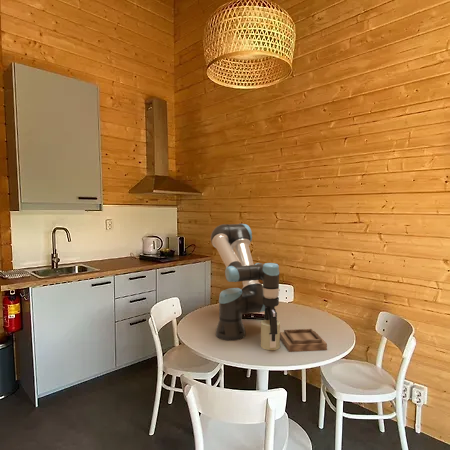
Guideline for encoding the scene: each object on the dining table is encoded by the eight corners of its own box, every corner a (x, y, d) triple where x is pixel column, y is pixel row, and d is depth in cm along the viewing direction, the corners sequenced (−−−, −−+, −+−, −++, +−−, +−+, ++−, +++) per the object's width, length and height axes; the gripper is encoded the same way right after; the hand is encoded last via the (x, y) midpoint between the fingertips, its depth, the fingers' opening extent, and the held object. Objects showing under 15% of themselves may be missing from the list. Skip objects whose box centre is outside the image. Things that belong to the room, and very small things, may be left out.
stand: (288, 351, 158) (289, 342, 158) (279, 338, 174) (279, 329, 173) (326, 349, 160) (327, 340, 160) (314, 336, 176) (314, 327, 175)
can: (278, 342, 169) (278, 318, 168) (281, 350, 160) (282, 324, 159) (259, 342, 168) (259, 318, 168) (261, 350, 159) (262, 325, 158)
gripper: (285, 302, 152) (284, 352, 154) (272, 290, 174) (272, 334, 175) (268, 303, 151) (267, 353, 153) (258, 290, 173) (257, 334, 174)
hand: (270, 343), depth 164 cm, fingers closed on can, 9 cm apart
